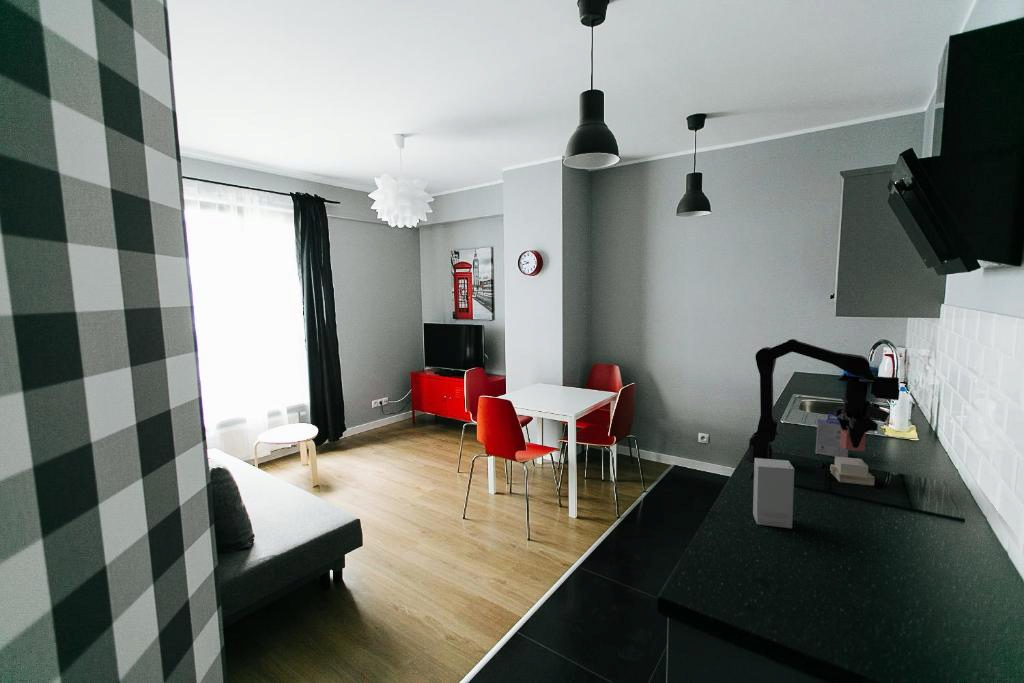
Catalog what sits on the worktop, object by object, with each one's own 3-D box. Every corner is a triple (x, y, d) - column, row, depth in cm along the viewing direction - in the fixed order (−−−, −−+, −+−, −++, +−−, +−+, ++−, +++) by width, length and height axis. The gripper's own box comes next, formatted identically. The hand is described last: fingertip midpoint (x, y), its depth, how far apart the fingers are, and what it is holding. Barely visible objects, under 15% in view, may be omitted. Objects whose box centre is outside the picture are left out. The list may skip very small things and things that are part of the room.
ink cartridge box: (848, 454, 170) (851, 415, 168) (848, 459, 165) (851, 419, 164) (815, 449, 175) (818, 411, 174) (815, 454, 171) (817, 415, 169)
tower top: (867, 475, 144) (868, 466, 143) (840, 472, 146) (841, 463, 146) (860, 468, 150) (860, 458, 150) (834, 465, 153) (835, 456, 152)
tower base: (873, 487, 142) (874, 477, 142) (839, 483, 145) (839, 474, 145) (862, 476, 151) (863, 467, 151) (829, 473, 154) (830, 464, 154)
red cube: (864, 451, 144) (865, 435, 144) (845, 449, 146) (846, 434, 145) (858, 446, 149) (859, 431, 149) (840, 444, 151) (841, 429, 150)
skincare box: (787, 518, 122) (790, 460, 120) (793, 530, 116) (796, 469, 114) (751, 513, 124) (753, 456, 123) (755, 525, 118) (758, 465, 117)
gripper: (901, 404, 135) (896, 457, 136) (874, 391, 152) (870, 438, 154) (855, 401, 138) (851, 453, 140) (834, 389, 156) (831, 435, 157)
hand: (852, 444), depth 147 cm, fingers closed on red cube, 5 cm apart
